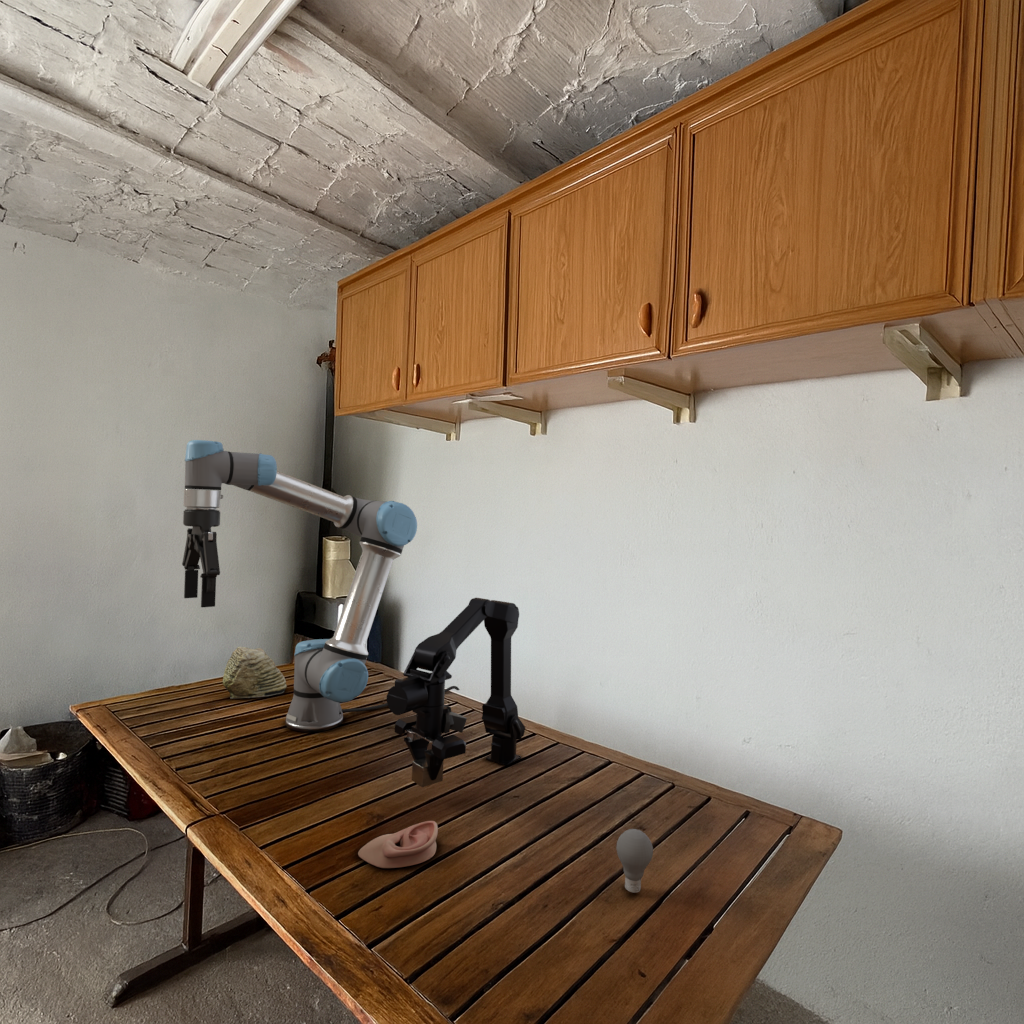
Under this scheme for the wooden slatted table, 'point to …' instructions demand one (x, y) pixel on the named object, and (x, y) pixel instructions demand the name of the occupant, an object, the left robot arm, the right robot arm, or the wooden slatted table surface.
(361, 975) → the wooden slatted table surface
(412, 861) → the anatomical model
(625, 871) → the light bulb
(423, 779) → the block
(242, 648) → the fossil
